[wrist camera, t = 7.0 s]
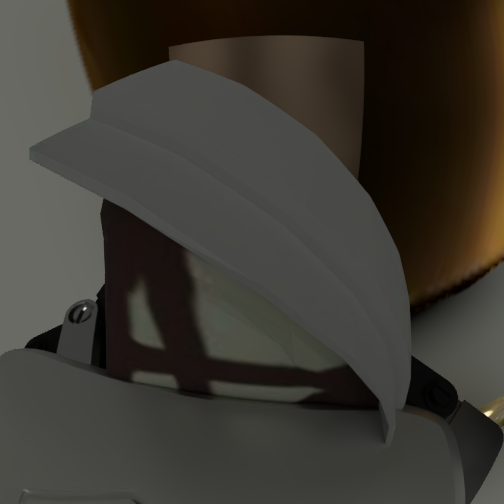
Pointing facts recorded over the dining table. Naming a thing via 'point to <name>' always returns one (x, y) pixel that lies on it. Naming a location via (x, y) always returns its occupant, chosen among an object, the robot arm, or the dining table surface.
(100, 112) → the food container
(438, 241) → the dining table surface
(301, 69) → the brown rectangular block
